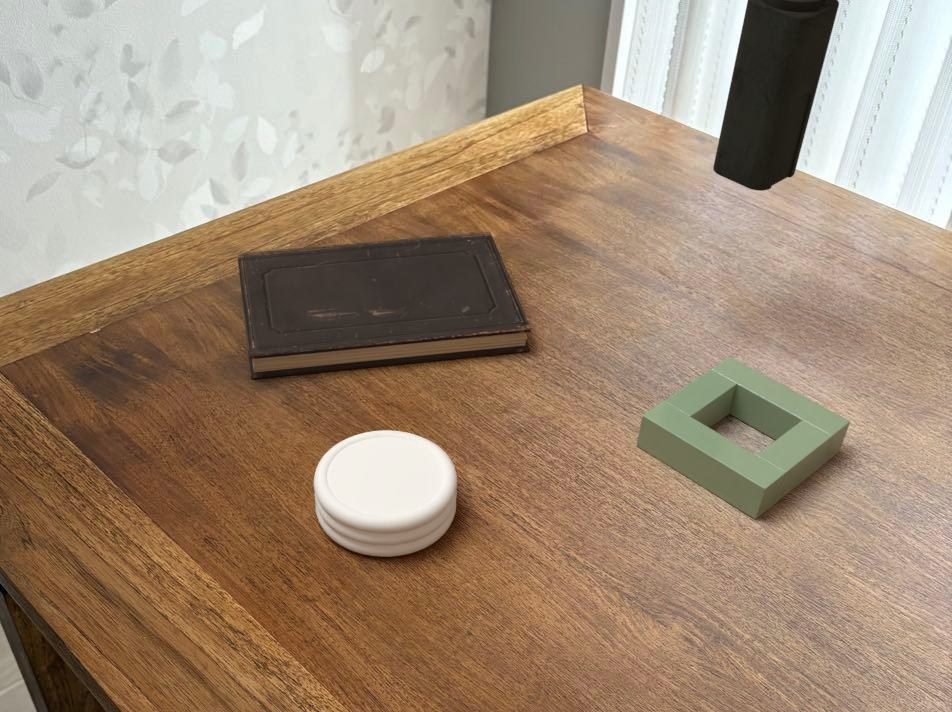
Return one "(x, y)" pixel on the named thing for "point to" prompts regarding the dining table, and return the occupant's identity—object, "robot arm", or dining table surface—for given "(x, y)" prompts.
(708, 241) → the dining table surface
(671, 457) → the pad
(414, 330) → the hardcover book
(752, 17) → the black and white post
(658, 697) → the dining table surface
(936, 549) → the dining table surface
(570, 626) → the dining table surface
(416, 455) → the white stacked coasters
